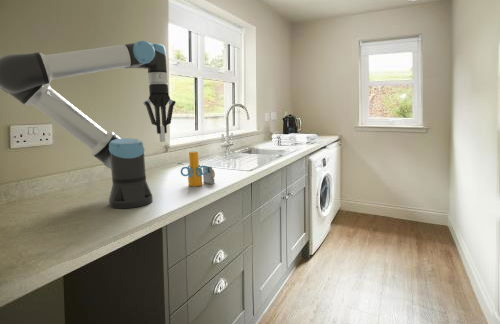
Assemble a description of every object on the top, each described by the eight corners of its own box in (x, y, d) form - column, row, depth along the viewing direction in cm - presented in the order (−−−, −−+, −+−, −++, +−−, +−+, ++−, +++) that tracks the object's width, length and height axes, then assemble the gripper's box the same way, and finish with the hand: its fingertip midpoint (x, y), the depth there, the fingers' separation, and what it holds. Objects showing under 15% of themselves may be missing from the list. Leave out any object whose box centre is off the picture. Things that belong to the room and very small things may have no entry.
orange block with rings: (200, 188, 149) (198, 153, 146) (178, 187, 152) (176, 153, 149) (211, 182, 160) (210, 150, 158) (191, 181, 163) (189, 150, 161)
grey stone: (210, 184, 156) (209, 167, 154) (203, 181, 162) (202, 164, 161) (216, 183, 157) (216, 166, 156) (209, 180, 164) (208, 164, 163)
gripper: (144, 83, 136) (149, 143, 140) (176, 83, 143) (180, 140, 147) (140, 84, 143) (144, 142, 146) (171, 84, 149) (174, 139, 153)
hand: (162, 141), depth 146 cm, fingers closed
